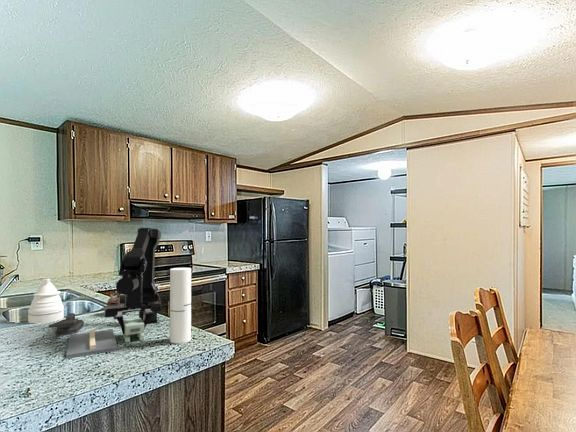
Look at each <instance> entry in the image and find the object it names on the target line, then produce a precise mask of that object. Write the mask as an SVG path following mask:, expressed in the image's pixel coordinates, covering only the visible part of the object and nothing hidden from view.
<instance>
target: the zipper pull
mask: <svg viewBox="0 0 576 432" xmlns="http://www.w3.org/2000/svg"><path fill="white" fill-rule="evenodd" d="M84 323H85V322H84V320H83V319H79V318H76V313H75V312H72V313H68V314H67V315H66V316H65V319H61V320H59V321H55V322H52V323H50V324H48V327H47V328H48V329H51V328H52V329H54V328H56V329H55V335H56V336H70V335H73V334H78V333H79V331H81V329H82V328H83V327H84Z"/></svg>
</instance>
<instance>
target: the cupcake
mask: <svg viewBox="0 0 576 432" xmlns="http://www.w3.org/2000/svg"><path fill="white" fill-rule="evenodd" d="M119 295H123V294H120V293H119V292H118V291H117V292H112V293H111V294H110V295H109V298H108V301H107V302H106V307H108V306H117V308H123V307H125V306H124V304H119ZM128 313H129V312H126V313H122V316H125V315H127V314H128Z"/></svg>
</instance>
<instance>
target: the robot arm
mask: <svg viewBox="0 0 576 432" xmlns="http://www.w3.org/2000/svg"><path fill="white" fill-rule="evenodd" d="M161 238H162V232H161V230H159V229H158V228H152V227H139V228H137V235H136V238H135V240H134V241H133V242H134V243H133V244H132V245H133V246H132V248H131V249H130V250H129V251H127V252H126V253H125V255H124V256H123V258H122V260H121V263H120V267H119V272H118V276H121V278H120V279H119V280H118V281H117V282H116V285H115V290H116V291H117V293H118V292H119V293H120V294H123V295H119V304H124V306H125V307H123V308H117V306H108V307H107V306H105V308H104V311H103V312H104V314H103V316H104V318H106V319H107V318H113V320H117V322H118V324H119V326H120V330H121V332H122V336H123V335H124V334H125V329H124V321H123V320H124V315H122V313H126V312H128V313H134V312H138V318H141V319H142V321H143V323H144V330H145V329H146V326H147V325H149V324H155V323H158V322H159V321H158V312H162V308H163V305H162V302H161V297H160V294H159V293H158V288H157V286H156V285H155V283H154V282H155V262H156V260H155V259H156V258H155V257H156V249H157V247H158V246H159V244H160V240H161Z"/></svg>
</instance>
